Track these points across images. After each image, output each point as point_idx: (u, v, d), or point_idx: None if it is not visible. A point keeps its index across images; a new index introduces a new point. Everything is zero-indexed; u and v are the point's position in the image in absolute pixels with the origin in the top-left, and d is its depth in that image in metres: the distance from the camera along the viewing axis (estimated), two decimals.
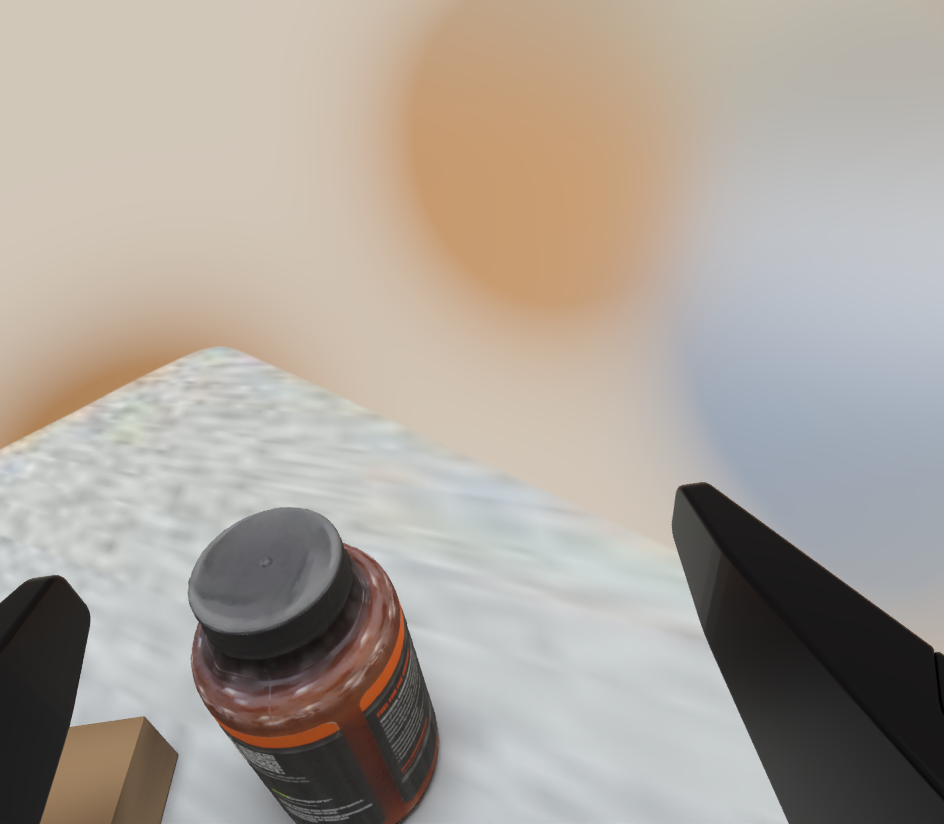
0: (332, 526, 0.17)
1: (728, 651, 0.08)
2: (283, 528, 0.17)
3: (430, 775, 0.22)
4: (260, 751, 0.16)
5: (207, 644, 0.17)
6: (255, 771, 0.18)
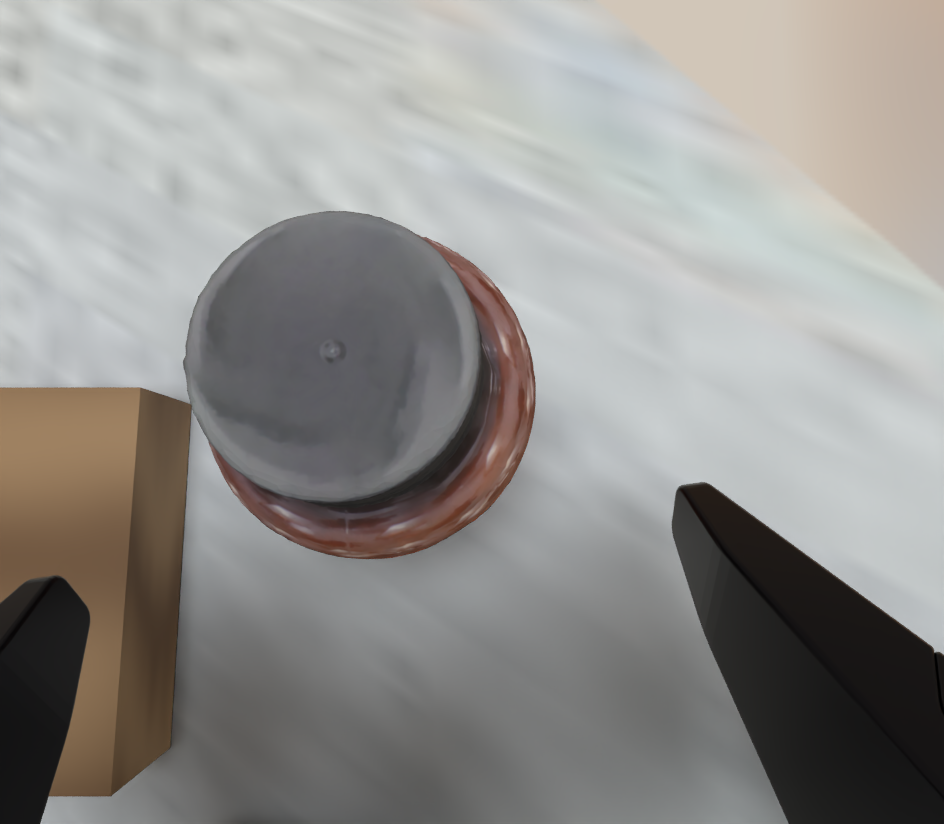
0: (457, 281, 0.08)
1: (728, 651, 0.08)
2: (358, 271, 0.08)
3: None
4: None
5: None
6: None
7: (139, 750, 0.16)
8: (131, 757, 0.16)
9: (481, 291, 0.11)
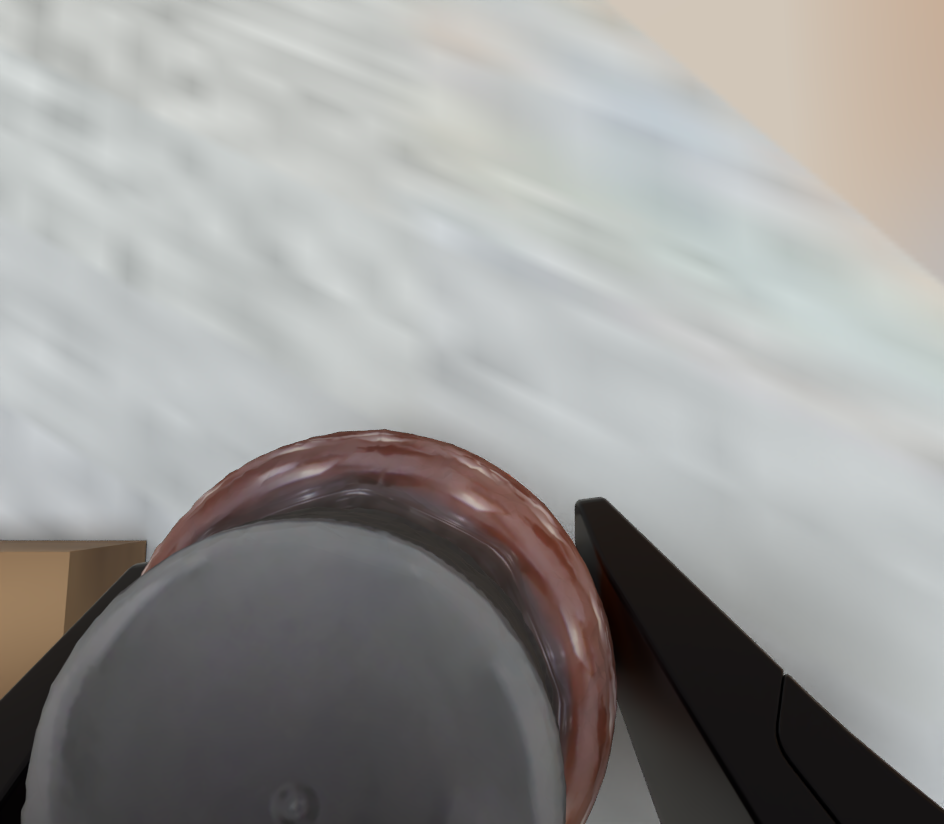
0: (523, 661, 0.05)
1: None
2: (340, 647, 0.05)
3: None
4: None
5: None
6: None
7: None
8: None
9: (538, 550, 0.07)
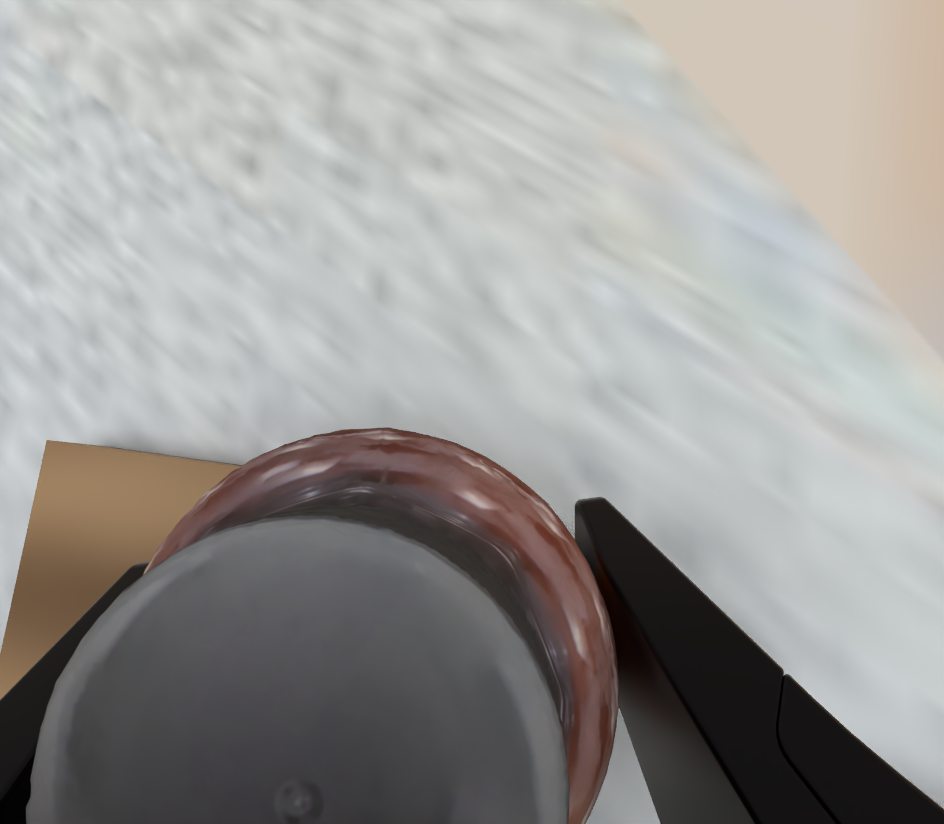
0: (527, 658, 0.05)
1: None
2: (345, 644, 0.05)
3: None
4: None
5: None
6: None
7: None
8: None
9: (540, 548, 0.07)
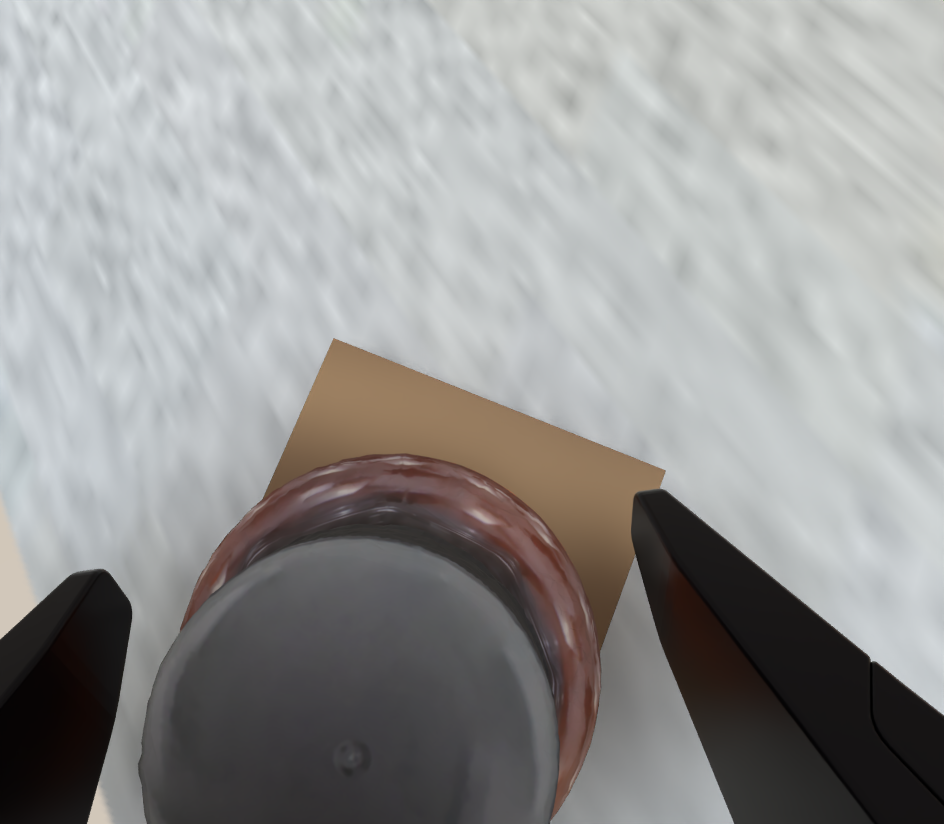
0: (527, 646, 0.06)
1: (680, 658, 0.08)
2: (386, 637, 0.06)
3: None
4: None
5: None
6: None
7: None
8: None
9: (536, 556, 0.08)
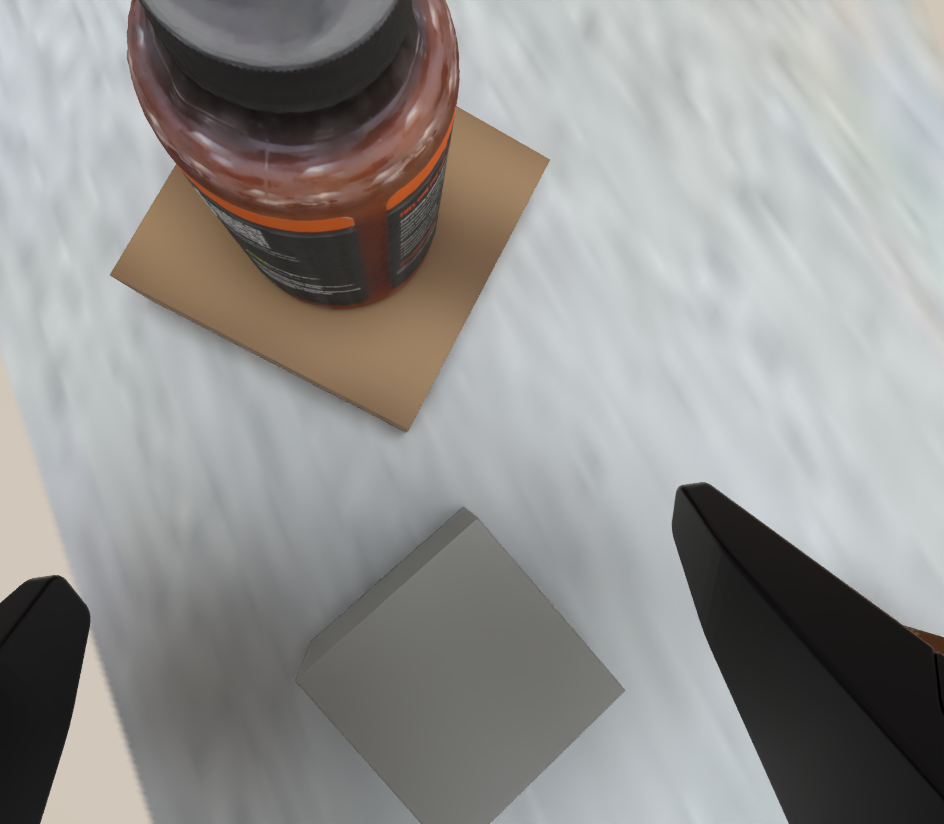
0: None
1: (728, 651, 0.08)
2: None
3: (420, 265, 0.19)
4: (242, 222, 0.12)
5: (157, 48, 0.10)
6: None
7: None
8: None
9: None
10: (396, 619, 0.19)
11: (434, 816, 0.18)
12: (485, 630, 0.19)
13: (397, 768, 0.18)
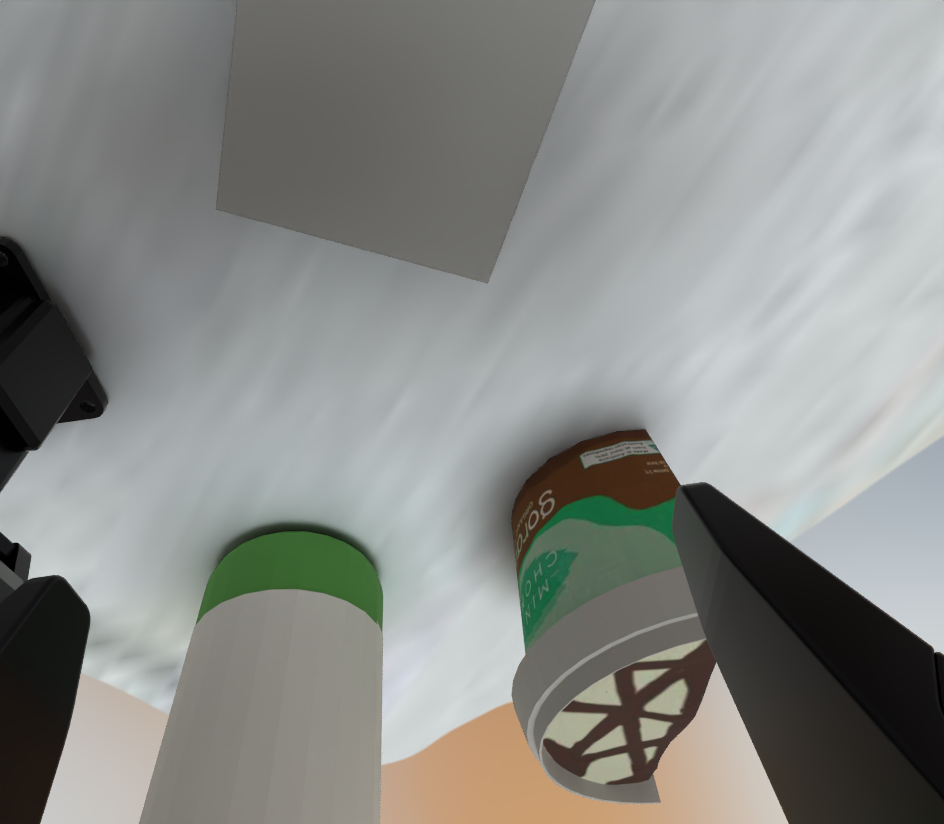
0: None
1: (728, 651, 0.08)
2: None
3: None
4: None
5: None
6: None
7: None
8: None
9: None
10: None
11: (239, 161, 0.15)
12: (467, 90, 0.14)
13: (254, 80, 0.14)
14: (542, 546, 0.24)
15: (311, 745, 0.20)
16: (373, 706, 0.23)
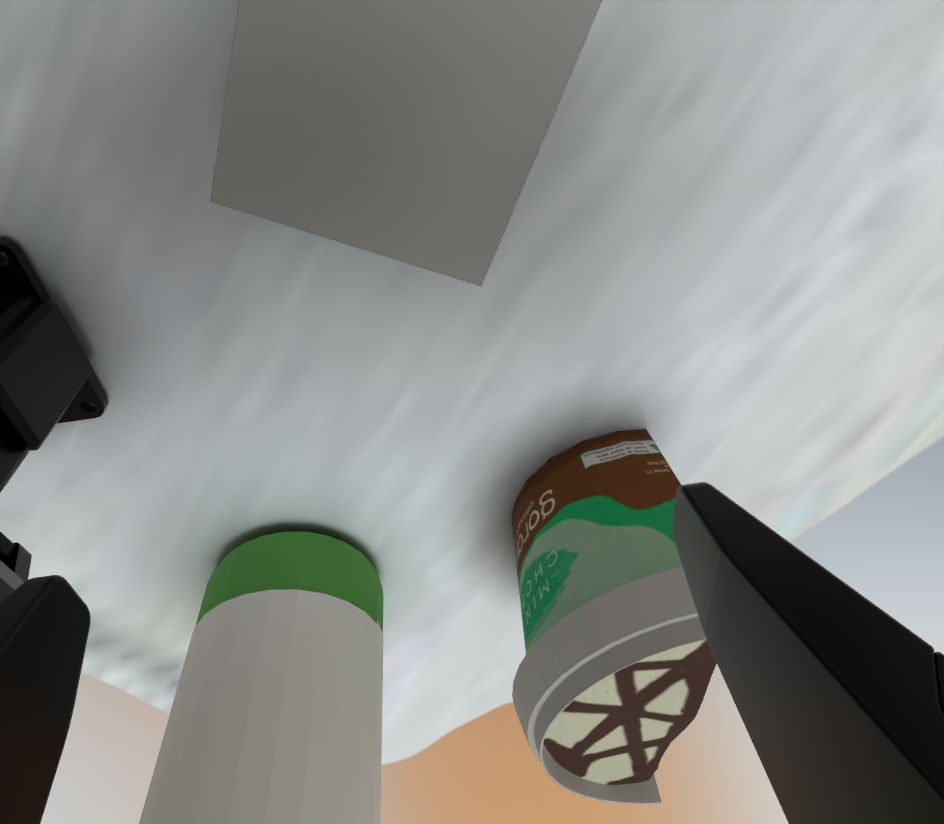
0: None
1: (728, 651, 0.08)
2: None
3: None
4: None
5: None
6: None
7: None
8: None
9: None
10: None
11: (236, 153, 0.14)
12: (467, 93, 0.14)
13: (254, 73, 0.14)
14: (543, 546, 0.24)
15: (311, 745, 0.20)
16: (373, 706, 0.23)
